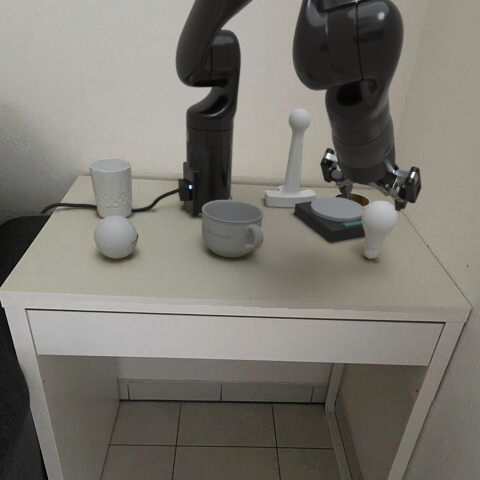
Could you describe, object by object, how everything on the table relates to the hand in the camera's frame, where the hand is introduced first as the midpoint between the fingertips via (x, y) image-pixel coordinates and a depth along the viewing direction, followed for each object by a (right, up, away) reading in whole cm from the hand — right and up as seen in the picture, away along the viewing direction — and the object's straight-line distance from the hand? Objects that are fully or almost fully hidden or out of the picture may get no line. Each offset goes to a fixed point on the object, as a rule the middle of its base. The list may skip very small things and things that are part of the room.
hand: (373, 199), depth 78 cm
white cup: (-47, +3, +23) cm, 52 cm away
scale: (-1, +1, +25) cm, 25 cm away
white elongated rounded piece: (-42, -7, +10) cm, 44 cm away
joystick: (-10, +8, +33) cm, 36 cm away
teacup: (-22, -7, +12) cm, 26 cm away
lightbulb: (+3, -8, +13) cm, 15 cm away
